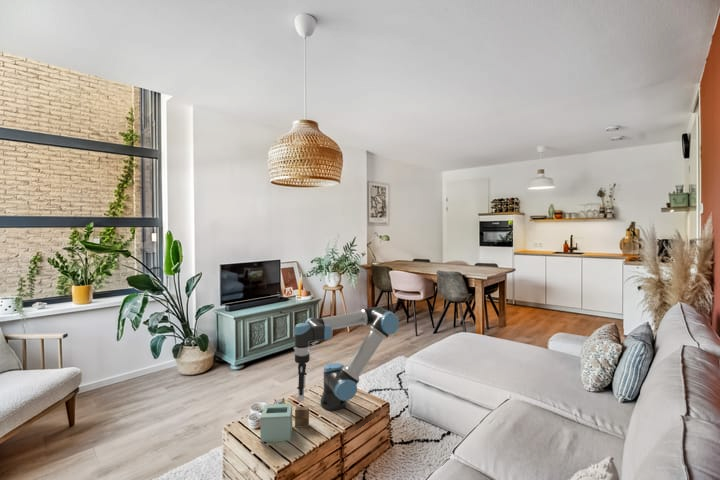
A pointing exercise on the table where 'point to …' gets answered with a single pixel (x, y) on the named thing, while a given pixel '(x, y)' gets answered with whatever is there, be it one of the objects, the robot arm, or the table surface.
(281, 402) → the game die
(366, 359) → the robot arm
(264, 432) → the box
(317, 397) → the table surface
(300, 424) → the brown rectangular block
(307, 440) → the table surface
